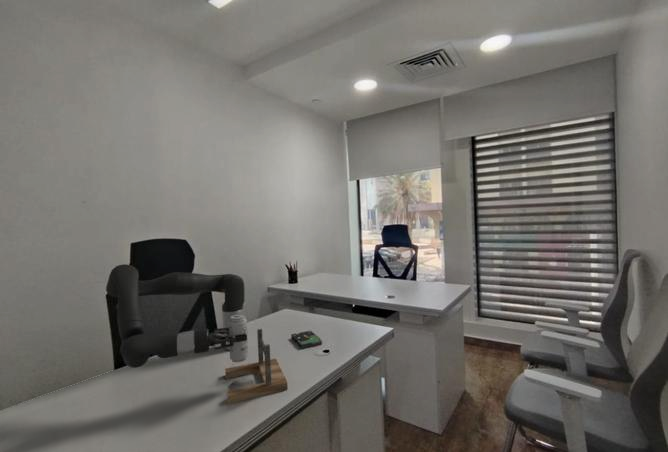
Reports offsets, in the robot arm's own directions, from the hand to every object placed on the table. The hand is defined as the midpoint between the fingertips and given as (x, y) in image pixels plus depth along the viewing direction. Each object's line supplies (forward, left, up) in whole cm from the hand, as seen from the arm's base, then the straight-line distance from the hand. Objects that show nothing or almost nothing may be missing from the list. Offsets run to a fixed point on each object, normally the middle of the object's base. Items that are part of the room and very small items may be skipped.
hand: (245, 333), depth 109 cm
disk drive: (-19, +36, -18) cm, 44 cm away
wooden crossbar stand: (0, +2, -18) cm, 18 cm away
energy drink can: (-1, -2, -9) cm, 9 cm away
